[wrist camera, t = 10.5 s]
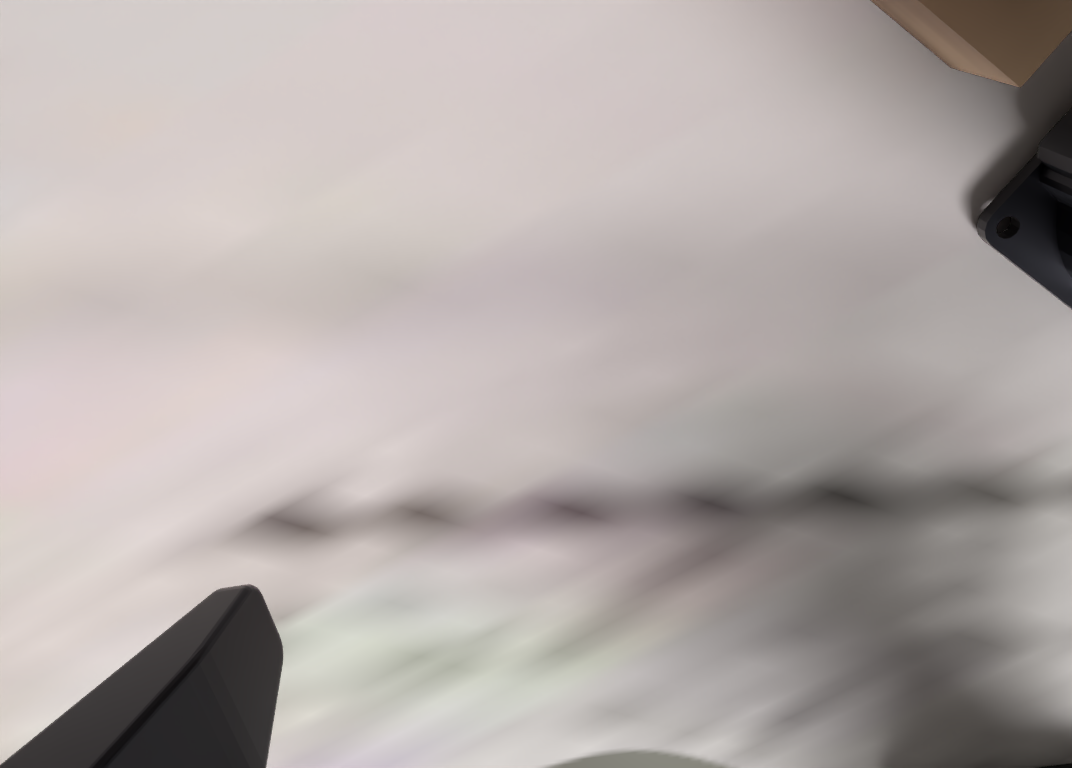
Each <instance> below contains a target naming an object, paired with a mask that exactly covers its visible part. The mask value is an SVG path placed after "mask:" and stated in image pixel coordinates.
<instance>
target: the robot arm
mask: <svg viewBox="0 0 1072 768" xmlns="http://www.w3.org/2000/svg"><path fill="white" fill-rule="evenodd" d="M1009 216H1011V224H1010V226H1009V227H1008V229H1007V230H1005V231H1004V232H1002V233H996V227H997V225H998V223H999V222H1000V221H1001V220H1002V219H1004V218H1005V217H1009ZM977 230H978V235H979V236H980V237H981V238H982V240H983V241H985V242H986V243H987V244H988V245H990V246H991V247H992V248H994V249H995V250H996V251H997V252H999V253H1000V254H1001V255H1003V256H1004V257H1005V258H1006V259H1008V260H1009V261H1010V262H1012V263H1013V264H1014V265H1015V266H1017V267H1018V268H1019V269H1020V270H1022V271H1023V272H1024V273H1026V274H1027V275H1028V276H1029V277H1031V278H1032V279H1033V280H1035V281H1036V282H1037V283H1038V284H1040V285H1041V286H1042V287H1044V288H1045V289H1046V290H1047V291H1049V292H1050V293H1051V294H1053V295H1054V296H1055V297H1056V298H1058V299H1059V300H1060V301H1062V302H1063V303H1064V304H1065V305H1067V306H1068V307H1069V308H1071V309H1072V108H1071V109H1070V110H1069V111H1068V112H1067V113H1066V115H1065V116H1064V117H1063V118H1062V119H1061V120H1060V121H1059V122H1058V123H1057V124H1056V125H1055V126H1054V128H1053V129H1052V130H1051V131H1050V132H1049V133H1048V134H1047V135H1046V136H1045V137H1044V138H1043V139H1042V140H1041V142H1040V143H1039V147H1038V151H1037V154H1036V155H1035V156H1034V157H1033V158H1032V159H1031V160H1030V161H1029V162H1028V163H1027V165H1026V166H1025V167H1024V168H1023V169H1022V170H1021V171H1020V172H1019V173H1018V174H1017V175H1016V176H1015V177H1014V178H1013V180H1012V181H1011V182H1010V183H1009V184H1008V185H1007V186H1006V187H1005V188H1004V189H1003V190H1002V191H1001V192H1000V194H999V195H998V196H997V197H996V198H995V199H994V200H993V201H992V202H991V203H990V204H989V205H988V206H987V208H986V209H985V210H984V211H983V212H982V214H981V215H980V217H979V219H978V223H977ZM282 665H283V646H282V642H281V638H280V636H279V633H278V631H277V629H276V626H275V624H274V621H273V619H272V617H271V614H270V612H269V610H268V607H267V605H266V603H265V600H264V598H263V596H262V594H261V592H260V590H259V589H258V588H257V587H255V586H253V585H251V584H248V585H241V586H234V587H227V588H221V589H218V590H216V591H215V592H213V593H212V594H211V595H209V596H208V597H207V598H206V599H205V600H203V601H202V602H201V603H200V604H198V605H197V606H196V607H195V608H193V609H192V610H191V611H190V612H188V613H187V614H186V615H185V616H184V617H182V618H181V619H180V620H179V621H177V622H176V623H175V624H174V625H172V626H171V627H170V628H169V629H168V630H166V631H165V632H164V633H163V634H161V635H160V636H159V637H158V638H156V639H155V640H154V641H153V642H151V643H150V644H149V645H148V646H147V647H145V648H144V649H143V650H142V651H140V652H139V653H138V654H137V655H135V656H134V657H133V658H132V659H130V660H129V661H128V662H127V663H126V664H124V665H123V666H122V667H121V668H119V669H118V670H117V671H116V672H114V673H113V674H112V675H111V676H109V677H108V678H107V679H106V680H105V681H103V682H102V683H101V684H100V685H98V686H97V687H96V688H95V689H93V690H92V691H91V692H90V693H89V694H87V695H86V696H85V697H84V698H82V699H81V700H80V701H79V702H77V703H76V704H75V705H74V706H72V707H71V708H70V709H69V710H68V711H66V712H65V713H64V714H63V715H61V716H60V717H59V718H58V719H56V720H55V721H54V722H53V723H51V724H50V725H49V726H48V727H47V728H45V729H44V730H43V731H42V732H40V733H39V734H38V735H37V736H35V737H34V738H33V739H32V740H30V741H29V742H28V743H27V744H26V745H24V746H23V747H22V748H21V749H19V750H18V751H17V752H16V753H14V754H13V755H12V756H11V757H10V758H8V759H7V760H6V761H5V762H3V763H2V764H1V765H0V768H266V765H267V759H268V753H269V746H270V740H271V734H272V728H273V721H274V715H275V709H276V702H277V696H278V690H279V684H280V677H281V671H282Z"/></svg>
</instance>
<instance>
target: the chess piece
mask: <svg viewBox="0 0 1072 768" xmlns="http://www.w3.org/2000/svg"><path fill="white" fill-rule="evenodd" d="M1041 768H1072V764H1065V765H1057V766H1049V767H1041Z"/></svg>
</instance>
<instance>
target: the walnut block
mask: <svg viewBox="0 0 1072 768" xmlns="http://www.w3.org/2000/svg"><path fill="white" fill-rule="evenodd" d="M871 1H872V2H873V3H874V4H875V5H877V6H878V7H879V8H880V9H881V10H883V11H884V12H885V13H886V14H887V15H889V16H890V17H891V18H892V19H893V20H894V21H896V22H897V23H898V24H899V25H900V26H902V27H903V28H904V29H905V30H906V31H908V32H909V33H910V34H911V35H912V36H914V37H915V38H916V39H917V40H918V41H920V42H921V43H922V44H923V45H924V46H926V47H927V48H928V49H929V50H930V51H932V52H933V53H934V54H935V55H936V56H938V57H939V58H940V59H941V60H942V61H943V62H945V63H946V64H947V65H948V66H949V67H951V68H953V69H957V70H960V71H964V72H967V73H971V74H974V75H978V76H981V77H985V78H988V79H992V80H995V81H999V82H1002V83H1006V84H1009V85H1013V86H1016V87H1020V88H1021V87H1022V86H1023V85H1024V84H1025V82H1026V81H1027V80H1028V79H1029V78H1030V77H1031V76H1032V75H1033V73H1034V72H1035V71H1036V70H1037V69H1038V68H1039V67H1040V66H1041V65H1042V63H1043V62H1044V61H1045V60H1046V59H1047V58H1048V57H1049V56H1050V54H1051V53H1052V52H1053V51H1054V50H1055V49H1056V48H1057V47H1058V45H1059V44H1060V43H1061V42H1062V41H1063V40H1064V39H1065V38H1066V36H1067V35H1068V34H1069V33H1070V32H1071V31H1072V0H871Z"/></svg>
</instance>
